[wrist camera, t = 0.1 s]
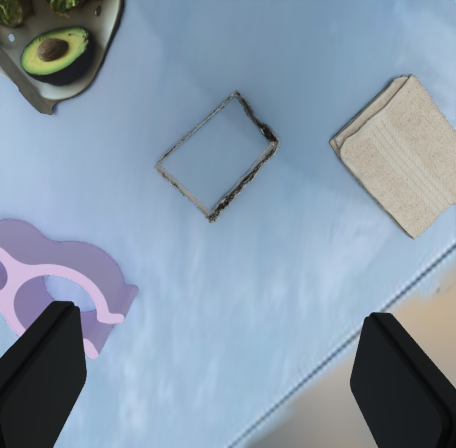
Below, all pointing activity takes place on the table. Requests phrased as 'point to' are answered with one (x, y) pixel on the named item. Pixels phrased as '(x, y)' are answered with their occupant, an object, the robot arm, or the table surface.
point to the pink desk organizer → (65, 267)
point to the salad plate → (55, 46)
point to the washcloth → (402, 154)
